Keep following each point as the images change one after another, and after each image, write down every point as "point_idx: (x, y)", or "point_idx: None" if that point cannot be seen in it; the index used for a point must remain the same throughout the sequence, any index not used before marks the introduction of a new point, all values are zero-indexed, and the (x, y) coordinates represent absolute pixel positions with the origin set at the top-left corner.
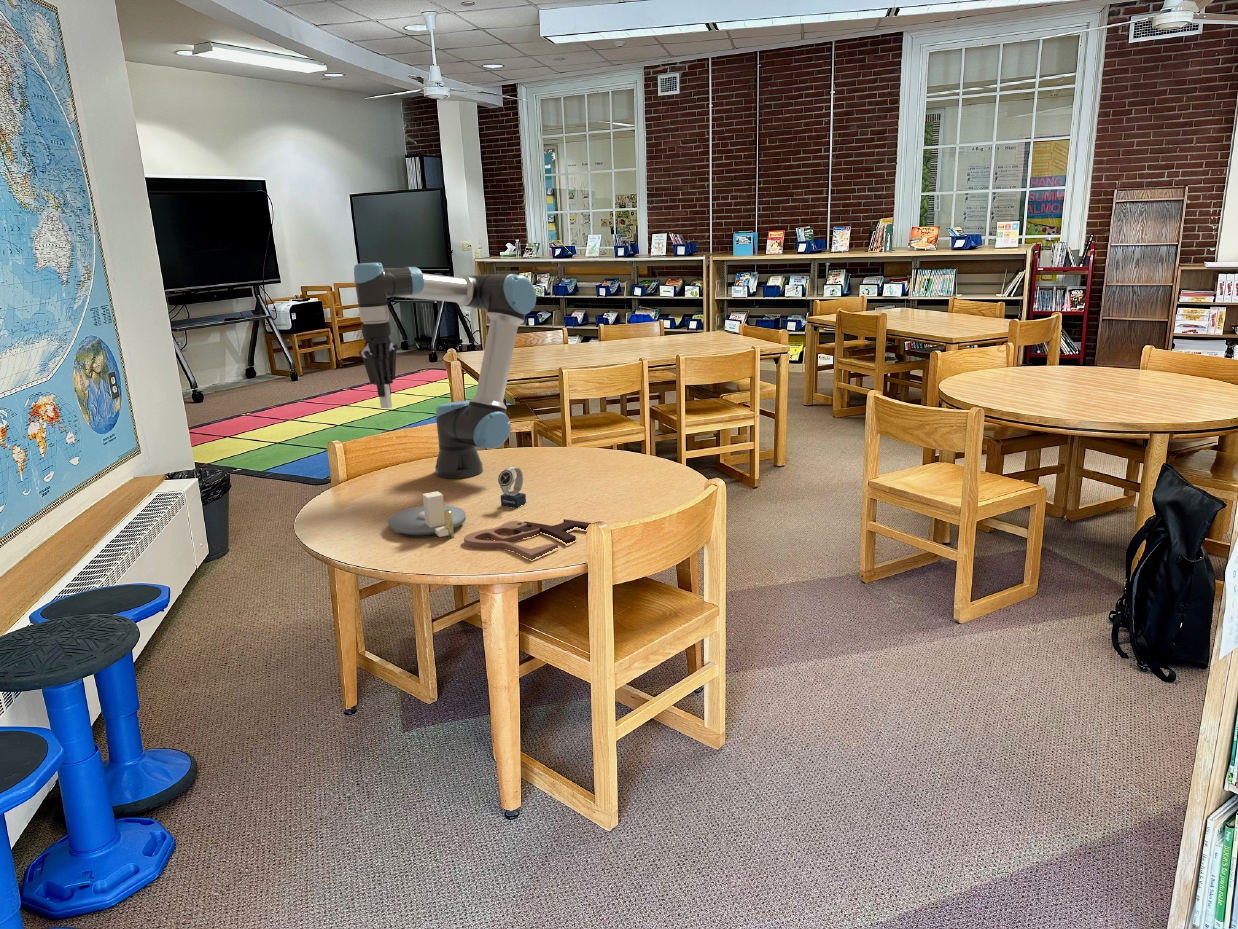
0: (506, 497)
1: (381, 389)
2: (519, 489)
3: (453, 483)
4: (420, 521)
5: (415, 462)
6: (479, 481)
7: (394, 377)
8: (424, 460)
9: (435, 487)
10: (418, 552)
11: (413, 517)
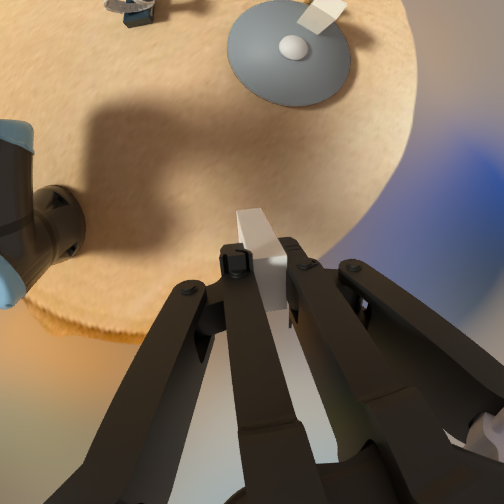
0: (149, 8)
1: (304, 254)
2: (124, 3)
3: (93, 182)
4: (314, 46)
5: (72, 314)
6: (66, 154)
7: (183, 287)
8: (60, 310)
9: (122, 191)
10: (366, 19)
11: (304, 66)
